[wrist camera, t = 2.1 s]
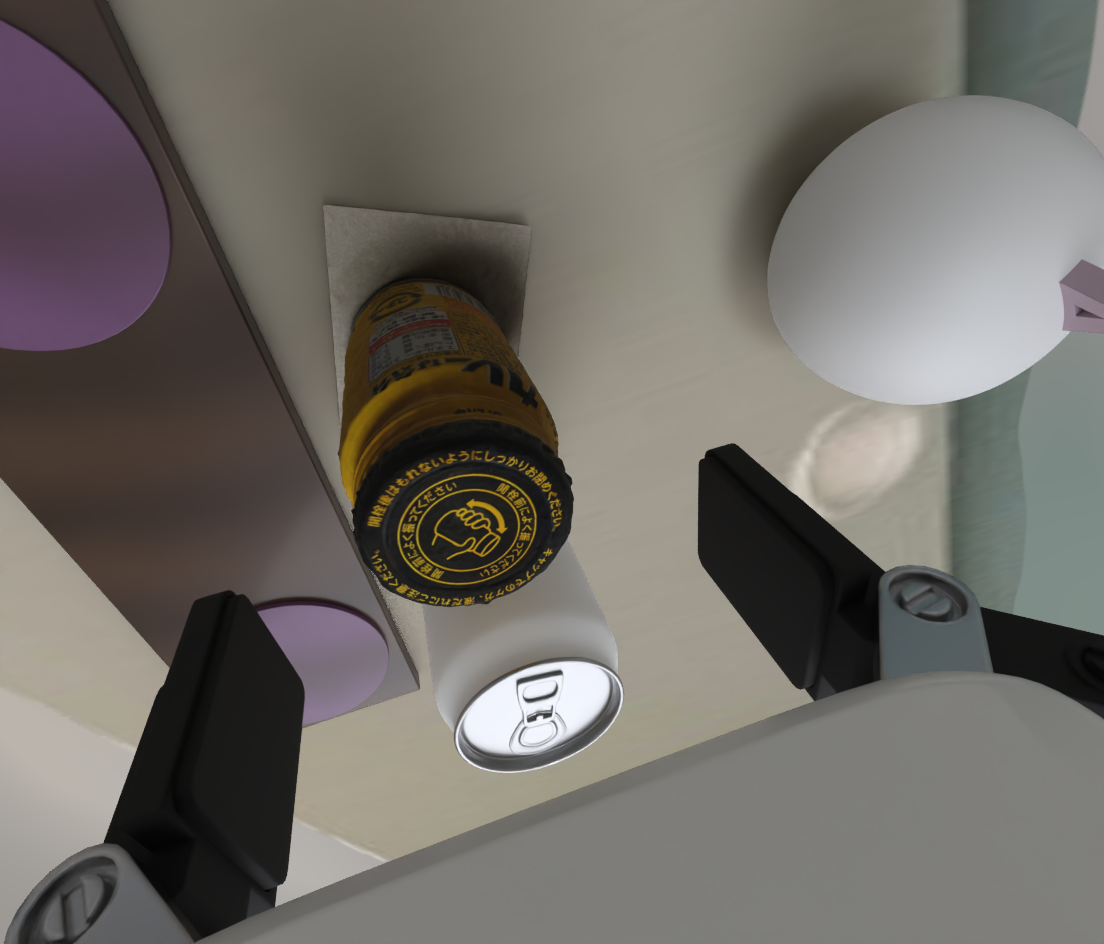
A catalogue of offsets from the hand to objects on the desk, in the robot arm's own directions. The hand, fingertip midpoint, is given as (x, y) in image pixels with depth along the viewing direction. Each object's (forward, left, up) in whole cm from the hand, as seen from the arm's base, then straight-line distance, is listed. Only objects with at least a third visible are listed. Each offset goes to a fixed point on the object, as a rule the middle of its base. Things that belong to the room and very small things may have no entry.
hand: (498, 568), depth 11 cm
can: (+9, 0, -14) cm, 16 cm away
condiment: (0, 0, -14) cm, 14 cm away
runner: (+4, -11, -14) cm, 18 cm away
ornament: (0, +18, -14) cm, 23 cm away
